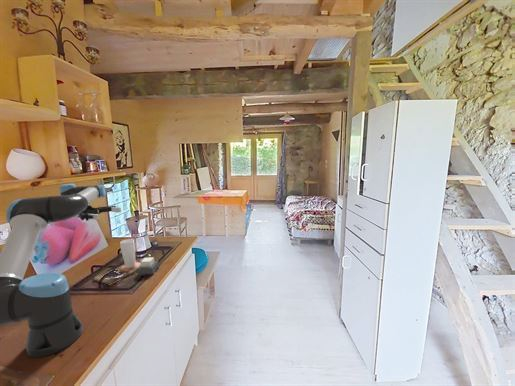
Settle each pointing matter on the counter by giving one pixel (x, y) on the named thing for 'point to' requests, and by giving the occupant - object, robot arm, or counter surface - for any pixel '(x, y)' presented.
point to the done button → (147, 262)
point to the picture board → (120, 269)
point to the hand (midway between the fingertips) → (109, 213)
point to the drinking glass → (128, 252)
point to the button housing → (148, 269)
